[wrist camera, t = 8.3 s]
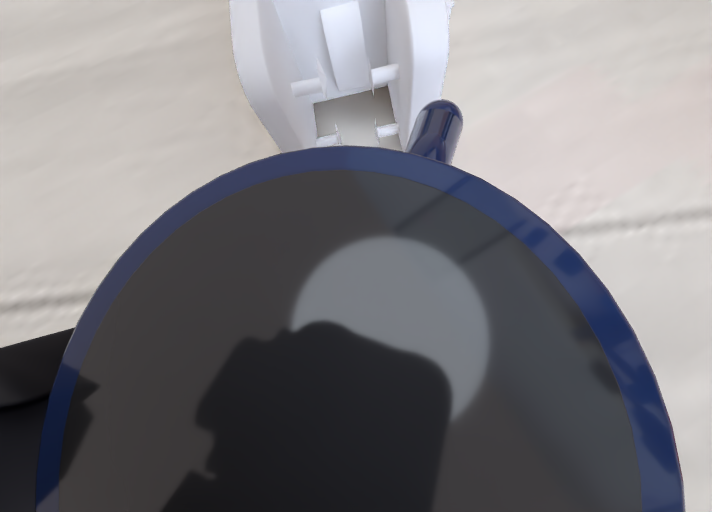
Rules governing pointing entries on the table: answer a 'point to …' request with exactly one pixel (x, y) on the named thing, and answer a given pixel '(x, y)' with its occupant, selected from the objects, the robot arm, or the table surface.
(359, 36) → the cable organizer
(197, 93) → the table surface
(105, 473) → the blue mug
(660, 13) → the table surface
